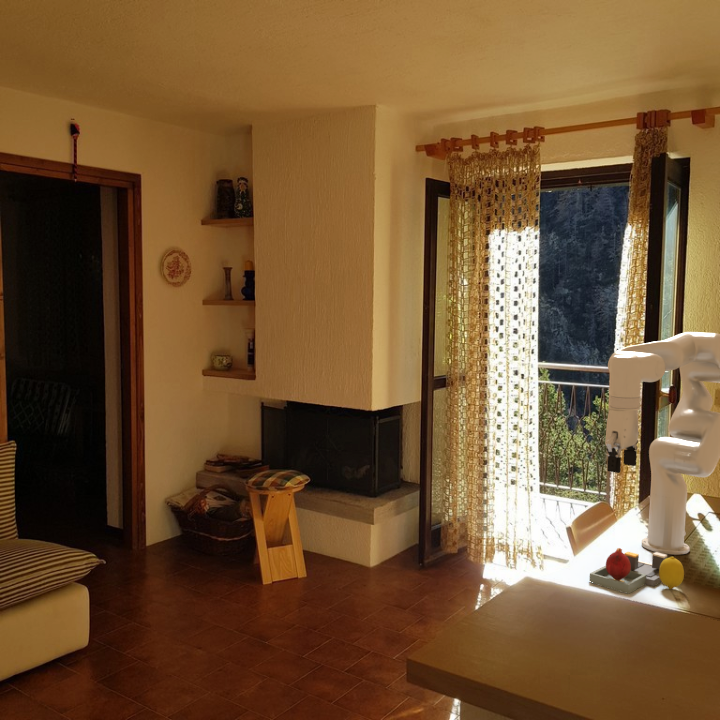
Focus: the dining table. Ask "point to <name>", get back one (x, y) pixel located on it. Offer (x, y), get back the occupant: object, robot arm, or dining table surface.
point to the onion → (618, 565)
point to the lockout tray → (624, 585)
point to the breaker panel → (648, 573)
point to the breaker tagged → (633, 560)
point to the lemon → (671, 572)
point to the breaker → (658, 559)
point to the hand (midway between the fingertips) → (622, 468)
